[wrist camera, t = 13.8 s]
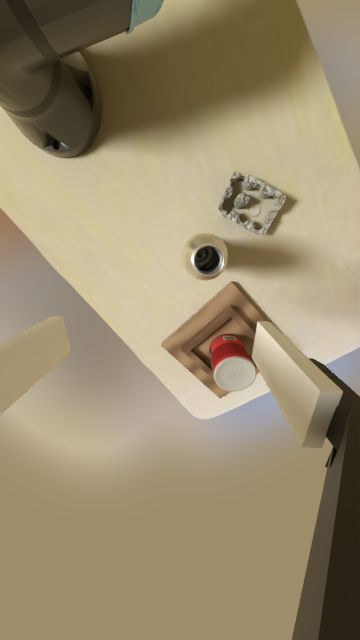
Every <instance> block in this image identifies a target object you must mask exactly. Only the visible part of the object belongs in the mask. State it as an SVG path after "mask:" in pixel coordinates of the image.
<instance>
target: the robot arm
mask: <svg viewBox="0 0 360 640" xmlns="http://www.w3.org/2000/svg"><path fill="white" fill-rule="evenodd" d="M162 3H163V0H0V106H1V107H2V108H3V109H4V110H5V111H6V113H7V114H8V115H9V117H10V118H11V119H12V121H13V122H14V123H15V124H16V126H17V127H18V128H19V130H20V131H21V132H22V133H23V134H24V135H25V137H27V138H28V139H29V140H30V141H31V142H32V143H33V144H35V145H36V146H37V147H39V148H41V149H42V150H44V151H45V152H47V153H49V154H51V155H53V156H56V157H61V158H70V157H75V156H77V155H79V154H81V153H83V152H84V151H85V150H87V149H88V148H89V146H90V145H91V144H92V143H93V141H94V139H95V137H96V135H97V132H98V129H99V125H100V119H101V102H100V95H99V91H98V87H97V84H96V81H95V79H94V77H93V74H92V72H91V71H90V69H89V67H88V65H87V63H86V62H85V60H84V58H83V57H82V55H81V54H80V52H79V51H80V50H83V49H85V48H87V47H90V46H92V45H94V44H97V43H99V42H102V41H104V40H106V39H109V38H111V37H113V36H116V35H118V34H120V33H123V32H126V34H129V33H131V32H132V31H133V29H134V27H136V26H138V25H140V24H142V23H144V22H145V21H147V20H149V19H151V18H153V17H155V16H156V15H157V13H158V12H159V11H160V8H161V6H162ZM69 353H70V347H69V342H68V338H67V333H66V328H65V323H64V319H63V317H62V316H52V317H50V318H48V319H46V320H44V321H42V322H40V323H38V324H36V325H34V326H32V327H30V328H28V329H26V330H25V331H23V332H21V333H19V334H17V335H15V336H13V337H11V338H9V339H7V340H5V341H3V342H1V343H0V415H1V414H2V413H3V412H4V411H5V410H6V409H8V408H9V407H10V406H11V405H12V404H13V403H14V402H15V401H16V400H18V399H19V398H20V397H21V396H22V395H23V394H24V393H25V392H27V391H28V390H29V389H30V388H31V387H32V386H33V385H34V384H35V383H37V382H38V381H39V380H40V379H41V378H42V377H43V376H44V375H45V374H47V373H48V372H49V371H50V370H51V369H52V368H53V367H54V366H55V365H56V364H58V363H59V362H60V361H61V360H62V359H63V358H64V357H65V356H66V355H68V354H69ZM252 359H253V361H254V362H255V364H256V366H257V368H258V370H259V371H260V373H261V375H262V377H263V379H264V380H265V382H266V384H267V386H268V387H269V389H270V391H271V393H272V395H273V396H274V398H275V400H276V402H277V404H278V405H279V407H280V409H281V411H282V412H283V414H284V416H285V418H286V420H287V421H288V423H289V425H290V427H291V428H292V430H293V432H294V434H295V436H296V437H297V439H298V441H299V443H300V444H301V446H302V447H311V448H322V446H323V444H324V441H325V438H326V437H327V438H328V440H329V441H330V442H331V444H332V445H333V448H332V451H331V453H330V456H329V458H328V461H327V463H326V465H325V467H327V473H326V478H325V482H324V488H323V492H322V497H321V502H320V507H319V511H318V516H317V521H316V526H315V531H314V535H313V540H312V545H311V550H310V555H309V560H308V564H307V569H306V574H305V579H304V584H303V588H302V594H301V598H300V603H299V608H298V613H297V617H296V622H295V627H294V633H293V637H292V640H360V397H359V395H357V394H356V393H355V392H354V391H353V390H352V389H351V388H350V387H348V386H347V385H346V384H345V383H344V382H343V381H342V380H340V379H339V378H338V377H337V376H336V375H335V374H334V373H331V371H330V370H329V369H328V368H327V367H326V366H325V365H324V364H322V363H320V362H318V361H316V360H314V359H309V358H307V357H306V356H305V355H304V354H303V353H302V352H301V351H300V350H299V349H298V348H297V347H296V346H295V345H294V344H293V343H291V342H290V341H289V340H288V339H287V338H286V337H285V336H284V335H283V334H282V333H281V332H280V331H279V330H278V329H277V328H276V327H275V326H274V325H272V324H271V323H270V322H268V321H258V322H257V328H256V334H255V340H254V346H253V353H252Z"/></svg>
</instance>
